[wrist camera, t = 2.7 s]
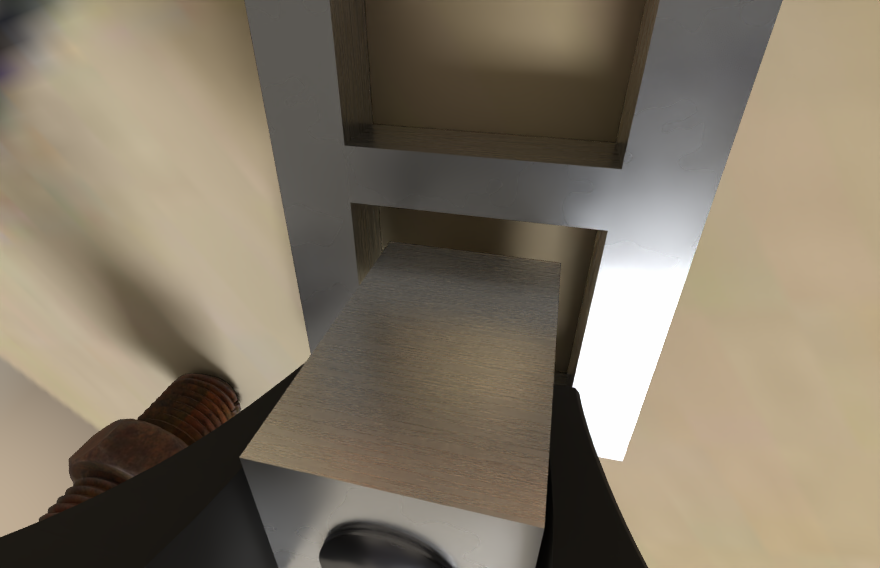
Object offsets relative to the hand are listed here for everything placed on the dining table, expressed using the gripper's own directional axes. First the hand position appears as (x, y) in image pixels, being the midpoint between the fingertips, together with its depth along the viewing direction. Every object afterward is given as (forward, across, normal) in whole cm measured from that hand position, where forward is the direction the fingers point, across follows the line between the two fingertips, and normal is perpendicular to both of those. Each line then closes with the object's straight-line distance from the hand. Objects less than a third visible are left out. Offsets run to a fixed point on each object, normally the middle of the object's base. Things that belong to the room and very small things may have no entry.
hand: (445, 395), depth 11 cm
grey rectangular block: (+3, 0, 0) cm, 3 cm away
